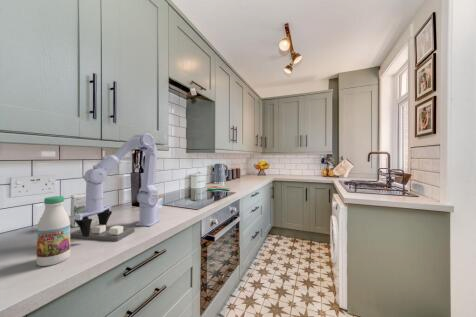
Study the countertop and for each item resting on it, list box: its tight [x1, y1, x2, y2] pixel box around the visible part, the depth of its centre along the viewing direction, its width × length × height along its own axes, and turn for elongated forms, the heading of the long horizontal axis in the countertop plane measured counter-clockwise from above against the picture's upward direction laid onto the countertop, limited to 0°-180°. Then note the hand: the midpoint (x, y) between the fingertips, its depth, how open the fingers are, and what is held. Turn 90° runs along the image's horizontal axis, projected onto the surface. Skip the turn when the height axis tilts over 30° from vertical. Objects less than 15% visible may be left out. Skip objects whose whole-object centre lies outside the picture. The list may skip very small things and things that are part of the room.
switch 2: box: [92, 223, 107, 234], centre depth 82 cm, size 3×4×2 cm
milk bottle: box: [36, 195, 71, 267], centre depth 63 cm, size 8×8×20 cm
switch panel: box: [70, 225, 136, 242], centre depth 84 cm, size 10×22×2 cm, turn 81°
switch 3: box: [110, 225, 124, 235], centre depth 81 cm, size 3×4×2 cm
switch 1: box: [90, 220, 98, 229], centre depth 87 cm, size 3×4×2 cm
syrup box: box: [70, 193, 86, 229], centre depth 95 cm, size 6×6×14 cm
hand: (94, 232), depth 80 cm, fingers open, 7 cm apart
